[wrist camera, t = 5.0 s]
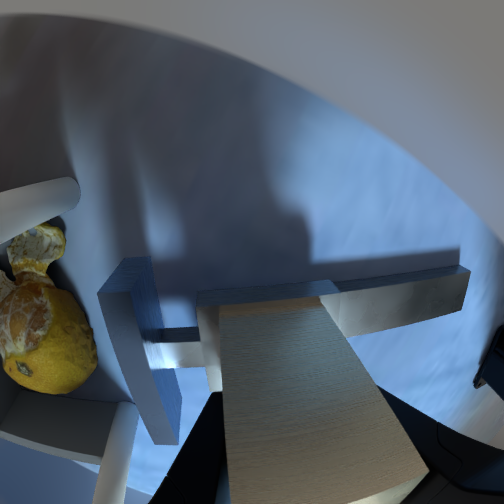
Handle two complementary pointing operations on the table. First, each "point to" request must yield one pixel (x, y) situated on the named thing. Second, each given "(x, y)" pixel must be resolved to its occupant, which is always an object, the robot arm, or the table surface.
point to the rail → (400, 299)
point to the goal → (54, 407)
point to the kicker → (266, 389)
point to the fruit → (42, 319)
